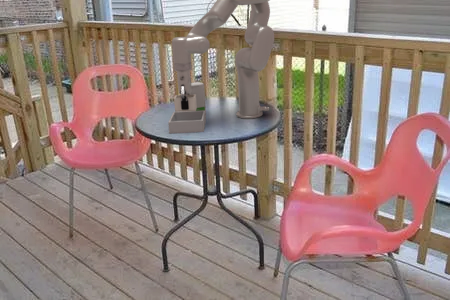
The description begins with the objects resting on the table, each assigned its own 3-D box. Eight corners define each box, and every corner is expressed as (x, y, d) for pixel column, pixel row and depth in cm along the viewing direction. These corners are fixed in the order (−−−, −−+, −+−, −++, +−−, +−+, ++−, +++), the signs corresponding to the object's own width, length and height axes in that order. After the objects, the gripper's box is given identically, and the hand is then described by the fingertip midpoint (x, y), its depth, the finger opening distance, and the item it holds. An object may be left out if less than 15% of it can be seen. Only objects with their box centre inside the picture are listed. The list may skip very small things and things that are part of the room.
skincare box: (191, 117, 207) (188, 86, 201) (185, 114, 212) (183, 83, 207) (206, 114, 210) (204, 83, 204) (201, 111, 216) (198, 81, 210)
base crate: (206, 120, 201) (205, 110, 199) (203, 131, 186) (202, 120, 184) (174, 122, 201) (173, 112, 199) (169, 133, 186) (168, 122, 184)
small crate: (196, 107, 193) (195, 94, 191) (195, 111, 187) (194, 97, 185) (176, 108, 193) (175, 95, 191) (175, 111, 188) (174, 98, 186)
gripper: (189, 70, 175) (192, 112, 182) (193, 63, 192) (196, 102, 198) (171, 70, 176) (175, 113, 182) (176, 63, 192) (179, 102, 198)
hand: (186, 107), depth 190 cm, fingers closed on small crate, 6 cm apart
